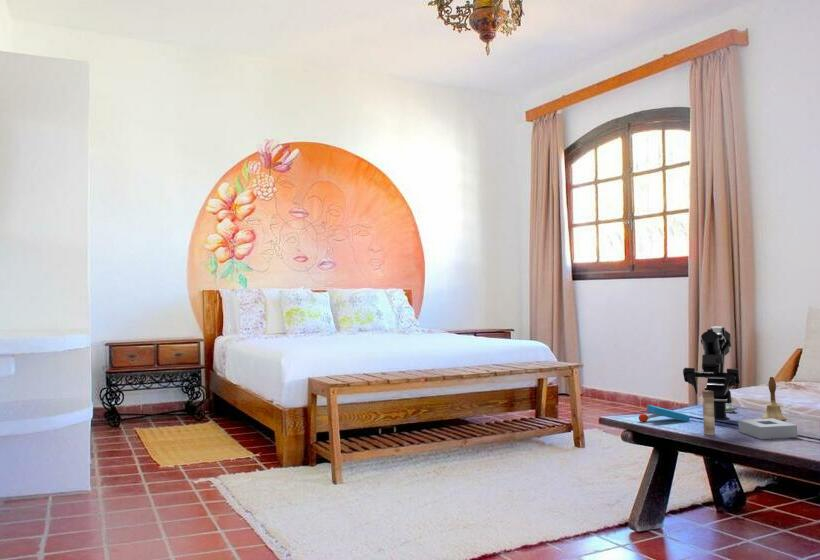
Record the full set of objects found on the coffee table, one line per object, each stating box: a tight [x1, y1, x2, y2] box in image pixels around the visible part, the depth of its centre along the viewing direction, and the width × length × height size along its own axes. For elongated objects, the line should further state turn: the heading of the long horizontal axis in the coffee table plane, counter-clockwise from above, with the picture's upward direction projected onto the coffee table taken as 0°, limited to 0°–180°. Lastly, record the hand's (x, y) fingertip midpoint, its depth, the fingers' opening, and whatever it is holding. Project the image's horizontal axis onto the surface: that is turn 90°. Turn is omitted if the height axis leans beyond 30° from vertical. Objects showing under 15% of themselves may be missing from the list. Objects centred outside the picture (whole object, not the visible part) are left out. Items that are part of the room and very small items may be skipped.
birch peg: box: [701, 389, 716, 436], centre depth 241 cm, size 4×4×15 cm
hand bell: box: [761, 376, 787, 421], centre depth 265 cm, size 8×8×16 cm
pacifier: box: [726, 396, 738, 413], centre depth 283 cm, size 7×6×6 cm
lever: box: [638, 404, 691, 422], centre depth 267 cm, size 7×7×18 cm
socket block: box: [737, 418, 798, 440], centre depth 238 cm, size 13×13×4 cm
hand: (710, 394), depth 247 cm, fingers open, 9 cm apart
